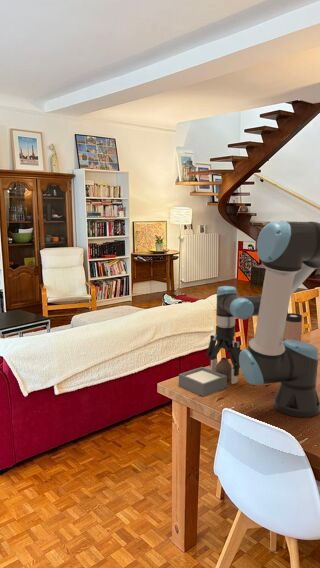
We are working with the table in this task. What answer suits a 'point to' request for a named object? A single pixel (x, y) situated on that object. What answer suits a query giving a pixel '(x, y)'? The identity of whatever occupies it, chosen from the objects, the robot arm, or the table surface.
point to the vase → (224, 368)
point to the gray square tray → (202, 381)
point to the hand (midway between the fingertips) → (223, 378)
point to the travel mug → (293, 327)
